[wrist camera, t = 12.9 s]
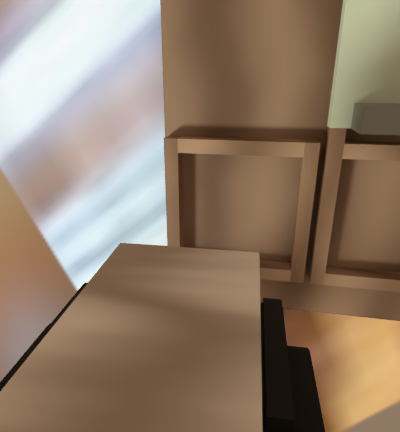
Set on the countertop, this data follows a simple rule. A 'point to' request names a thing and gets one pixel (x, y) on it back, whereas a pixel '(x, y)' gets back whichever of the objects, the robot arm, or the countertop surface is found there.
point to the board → (277, 155)
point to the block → (149, 349)
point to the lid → (367, 68)
